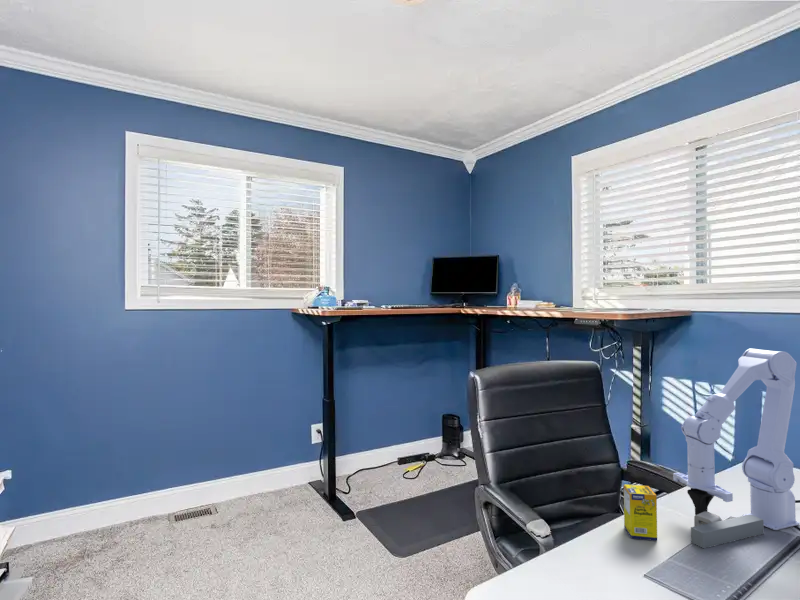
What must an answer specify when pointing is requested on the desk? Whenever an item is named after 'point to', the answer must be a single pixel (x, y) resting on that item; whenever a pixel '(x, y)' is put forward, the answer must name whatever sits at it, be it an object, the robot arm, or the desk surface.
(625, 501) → the supplement box
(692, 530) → the slate rail
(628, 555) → the desk surface
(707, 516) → the usb wall charger
